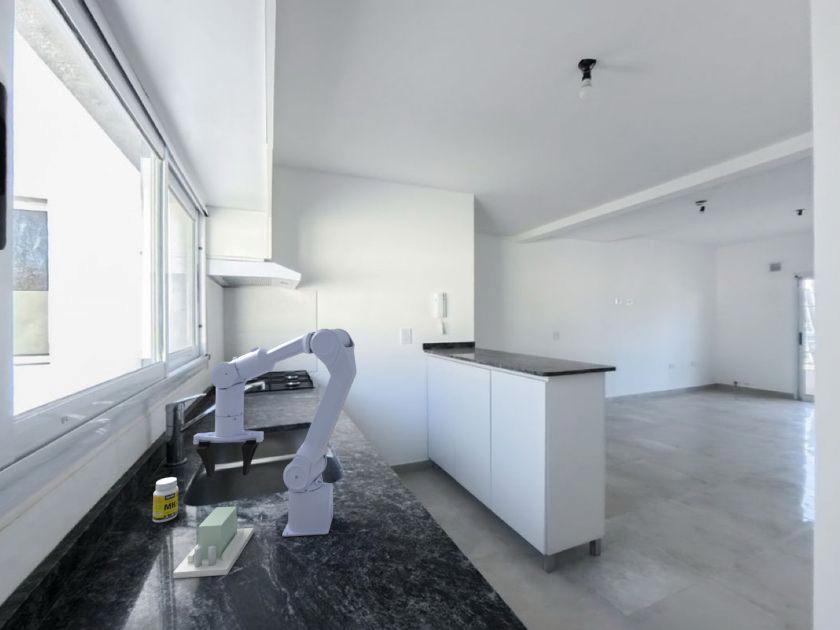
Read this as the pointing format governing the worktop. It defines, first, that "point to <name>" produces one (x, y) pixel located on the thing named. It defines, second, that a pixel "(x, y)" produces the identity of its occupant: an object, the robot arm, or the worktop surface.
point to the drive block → (217, 530)
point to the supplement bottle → (165, 500)
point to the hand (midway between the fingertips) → (228, 474)
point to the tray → (214, 557)
